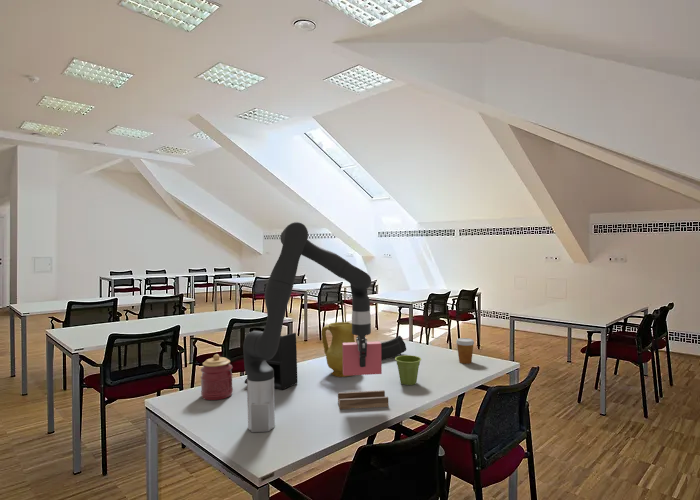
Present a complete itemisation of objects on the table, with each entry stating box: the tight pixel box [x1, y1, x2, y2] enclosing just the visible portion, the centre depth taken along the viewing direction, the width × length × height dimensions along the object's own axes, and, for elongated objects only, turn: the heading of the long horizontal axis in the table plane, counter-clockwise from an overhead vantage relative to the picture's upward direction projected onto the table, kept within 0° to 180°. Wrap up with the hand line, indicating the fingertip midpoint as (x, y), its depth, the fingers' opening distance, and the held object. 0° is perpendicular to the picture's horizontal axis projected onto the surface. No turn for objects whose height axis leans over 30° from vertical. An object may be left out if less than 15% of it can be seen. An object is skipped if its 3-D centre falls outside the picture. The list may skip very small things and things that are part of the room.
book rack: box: [337, 389, 389, 410], centre depth 175 cm, size 9×19×4 cm, turn 96°
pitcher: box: [321, 321, 356, 378], centre depth 219 cm, size 17×19×25 cm
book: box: [342, 340, 383, 377], centre depth 175 cm, size 4×15×12 cm, turn 96°
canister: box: [200, 353, 234, 401], centre depth 188 cm, size 13×13×18 cm
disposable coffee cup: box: [455, 337, 475, 365], centre depth 234 cm, size 10×10×12 cm
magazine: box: [380, 335, 407, 361], centre depth 244 cm, size 17×3×30 cm
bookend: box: [244, 332, 299, 390], centre depth 204 cm, size 23×11×24 cm, turn 58°
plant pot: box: [394, 354, 422, 386], centre depth 201 cm, size 12×12×11 cm
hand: (361, 364), depth 175 cm, fingers closed on book, 4 cm apart
